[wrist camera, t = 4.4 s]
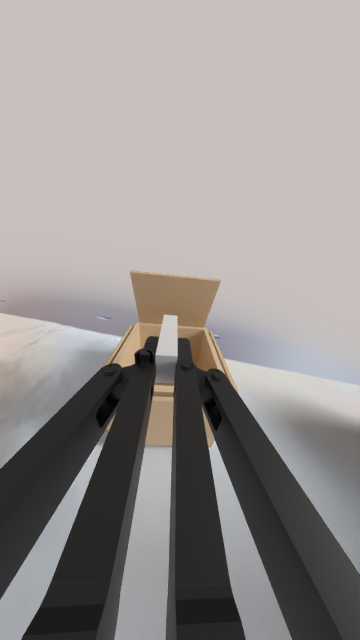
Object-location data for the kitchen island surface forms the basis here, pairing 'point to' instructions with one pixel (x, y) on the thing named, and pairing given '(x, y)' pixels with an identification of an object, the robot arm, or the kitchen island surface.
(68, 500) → the kitchen island surface
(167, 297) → the front flap
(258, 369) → the kitchen island surface
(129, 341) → the carton
